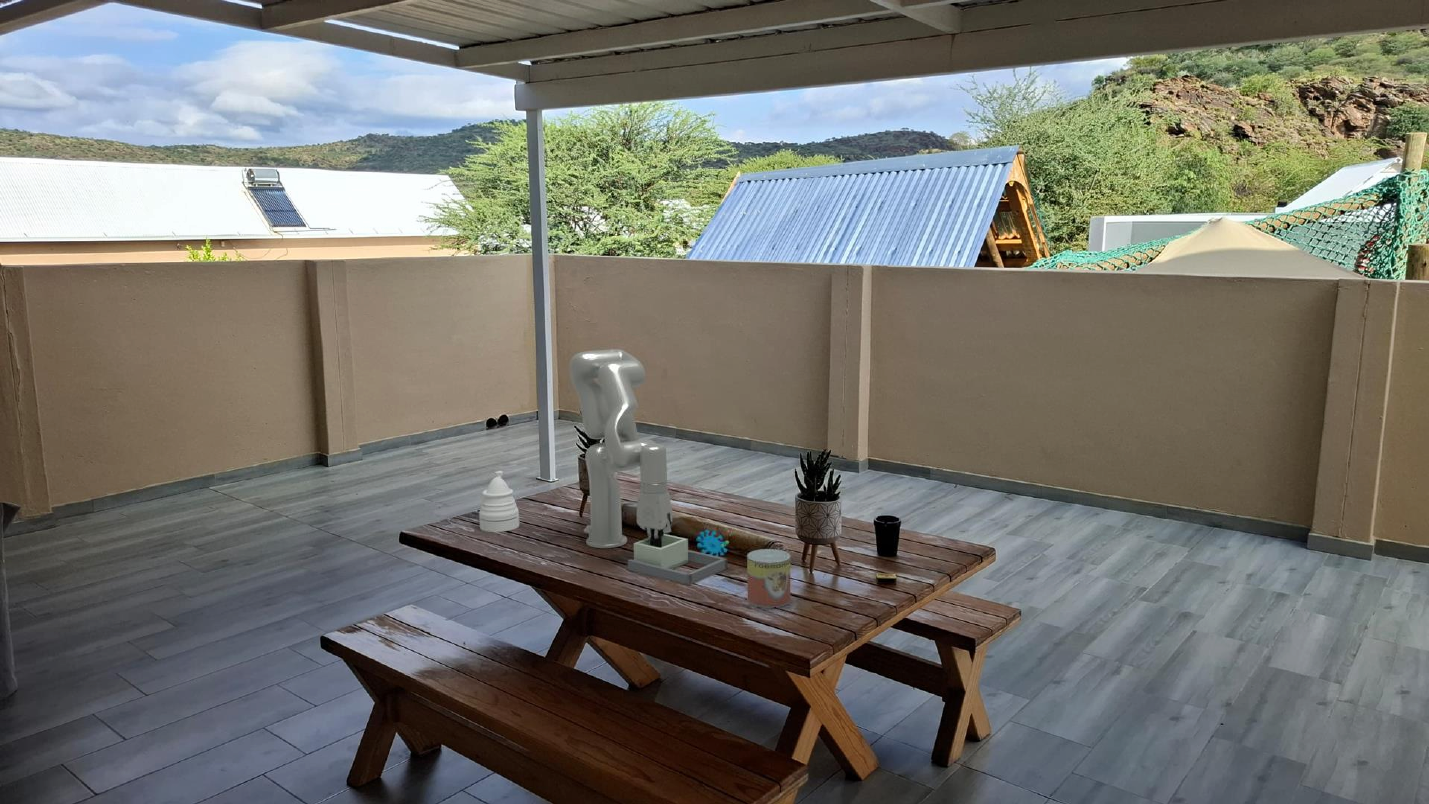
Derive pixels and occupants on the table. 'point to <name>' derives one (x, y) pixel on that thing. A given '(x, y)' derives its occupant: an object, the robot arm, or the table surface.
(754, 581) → the canned food
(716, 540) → the gear
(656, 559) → the box
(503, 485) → the honey pot
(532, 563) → the table surface
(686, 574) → the bay
